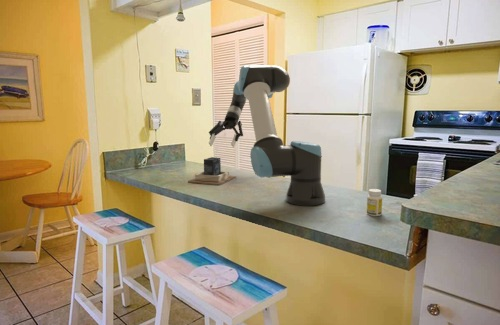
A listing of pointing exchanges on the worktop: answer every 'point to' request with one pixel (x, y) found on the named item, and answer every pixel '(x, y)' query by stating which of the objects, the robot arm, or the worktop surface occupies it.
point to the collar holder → (212, 178)
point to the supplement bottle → (374, 202)
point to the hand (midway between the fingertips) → (221, 145)
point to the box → (212, 166)
